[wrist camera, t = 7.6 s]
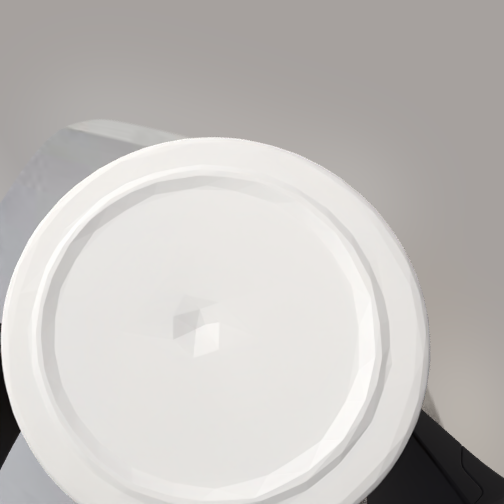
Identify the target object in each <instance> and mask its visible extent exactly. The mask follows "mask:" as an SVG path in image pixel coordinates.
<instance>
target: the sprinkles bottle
mask: <svg viewBox="0 0 504 504" xmlns="http://www.w3.org/2000/svg"><path fill="white" fill-rule="evenodd" d="M1 355H2V367H3V373H4V380H5V384H6V389H7V393H8V397H9V400H10V404H11V407H12V410H13V414H14V416H15V418H16V421H17V423H18V425H19V428H20V430H21V432H22V434H23V436H24V438H25V440H26V442H27V443H28V445H29V447H30V449H31V451H32V452H33V454H34V455H35V457H36V458H37V460H38V461H39V463H40V464H41V466H42V467H43V469H44V470H45V471H46V473H47V474H48V475H49V476H50V477H51V479H52V480H53V481H54V482H55V483H56V484H57V485H58V486H59V488H60V489H62V490H63V491H64V492H65V493H66V494H67V495H68V496H69V497H70V498H71V499H72V500H73V501H74V502H75V503H77V504H359V503H361V502H362V501H363V500H364V499H365V498H366V497H367V496H368V495H369V494H370V493H371V492H372V491H373V490H374V489H375V488H376V487H377V486H378V485H379V484H380V483H381V481H382V480H383V479H384V478H385V476H386V475H387V474H388V473H389V471H390V470H391V469H392V467H393V466H394V464H395V463H396V461H397V460H398V458H399V457H400V455H401V453H402V451H403V450H404V448H405V446H406V444H407V442H408V440H409V438H410V436H411V434H412V432H413V430H414V428H415V425H416V423H417V421H418V418H419V414H420V411H421V408H422V404H423V401H424V397H425V394H426V389H427V382H428V375H429V367H430V334H429V320H428V314H427V310H426V306H425V301H424V297H423V293H422V290H421V287H420V283H419V280H418V277H417V275H416V272H415V270H414V268H413V266H412V264H411V261H410V260H409V257H408V255H407V253H406V251H405V250H404V248H403V246H402V245H401V243H400V241H399V240H398V238H397V237H396V235H395V233H394V232H393V230H392V229H391V228H390V226H389V225H388V224H387V222H386V221H385V220H384V219H383V217H382V216H381V215H380V214H379V212H378V211H377V210H376V209H375V208H374V207H373V206H372V205H371V204H370V203H369V202H368V201H367V200H366V199H365V198H364V197H363V196H362V195H361V194H360V193H358V192H357V191H356V190H355V189H354V188H353V187H351V186H350V185H349V184H348V183H346V182H345V181H344V180H343V179H341V178H340V177H338V176H337V175H335V174H334V173H332V172H330V171H329V170H327V169H326V168H324V167H322V166H321V165H319V164H317V163H315V162H313V161H311V160H309V159H307V158H304V157H302V156H300V155H298V154H295V153H292V152H290V151H287V150H284V149H281V148H278V147H275V146H271V145H267V144H262V143H258V142H253V141H249V140H243V139H235V138H222V137H209V138H208V137H206V138H190V139H182V140H176V141H171V142H165V143H161V144H157V145H154V146H150V147H147V148H143V149H141V150H138V151H135V152H133V153H130V154H128V155H126V156H123V157H121V158H119V159H117V160H115V161H113V162H111V163H109V164H107V165H105V166H104V167H102V168H100V169H98V170H97V171H95V172H94V173H93V174H91V175H90V176H88V177H87V178H85V179H84V180H83V181H81V182H80V183H79V184H77V185H76V186H75V187H73V188H72V189H71V190H70V191H69V192H68V193H67V194H66V195H65V196H64V197H63V198H62V199H60V200H59V202H58V203H57V204H56V205H55V206H54V207H53V208H52V210H51V211H50V212H49V213H48V214H47V215H46V217H45V218H44V219H43V220H42V221H41V223H40V224H39V225H38V227H37V228H36V230H35V231H34V233H33V234H32V236H31V238H30V239H29V241H28V243H27V245H26V247H25V249H24V251H23V253H22V255H21V257H20V259H19V261H18V263H17V265H16V267H15V270H14V273H13V275H12V278H11V281H10V284H9V288H8V291H7V295H6V299H5V304H4V311H3V318H2V325H1Z"/></svg>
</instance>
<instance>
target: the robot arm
mask: <svg viewBox="0 0 504 504" xmlns="http://www.w3.org/2000/svg"><path fill="white" fill-rule="evenodd" d="M1 325H2V323H0V470H1V467H2V465H3V463H4V462H5V460H6V458H7V456H8V454H9V452H10V450H11V448H12V446H13V444H14V443H15V441H16V439H17V437H18V435H19V433H20V432H21V430H20V428H19V425H18V423H17V421H16V418H15V416H14V414H13V410H12V407H11V404H10V400H9V397H8V393H7V389H6V384H5V380H4V373H3V367H2V355H1ZM367 504H504V478H503V477H501V476H500V475H499V474H497V473H496V472H495V471H493V470H492V469H490V468H489V467H488V466H486V465H485V464H484V463H482V462H481V461H480V460H479V459H478V458H476V457H475V456H474V455H473V454H472V453H470V452H469V451H468V450H467V449H466V448H465V447H464V446H462V445H461V444H460V443H459V442H458V441H457V440H455V438H453V437H452V436H451V435H450V434H449V433H448V432H447V431H445V430H444V429H443V428H442V427H441V426H440V425H439V424H438V423H437V422H435V421H434V420H433V419H432V418H431V417H430V416H429V415H427V414H426V413H425V412H424V411H423V410H422V409H421V411H420V414H419V418H418V421H417V423H416V425H415V428H414V430H413V432H412V434H411V436H410V438H409V440H408V442H407V444H406V446H405V448H404V450H403V451H402V453H401V455H400V457H399V458H398V460H397V461H396V463H395V464H394V466H393V467H392V469H391V470H390V471H389V473H388V474H387V475H386V476H385V478H384V479H383V480H382V481H381V483H380V484H379V485H378V486H377V487H376V488H375V489H374V490H373V491H372V492H371V493H370V494H369V495H368V496H367Z"/></svg>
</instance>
